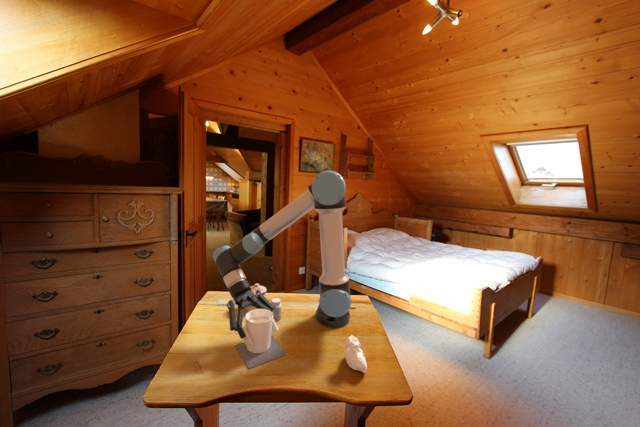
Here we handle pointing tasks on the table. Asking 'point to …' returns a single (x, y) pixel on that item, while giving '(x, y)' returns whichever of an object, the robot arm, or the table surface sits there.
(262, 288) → the teacup with lid
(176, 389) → the table surface
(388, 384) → the table surface
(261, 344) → the candle holder
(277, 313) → the pill bottle
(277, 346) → the gray tile
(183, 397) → the table surface
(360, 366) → the bust
